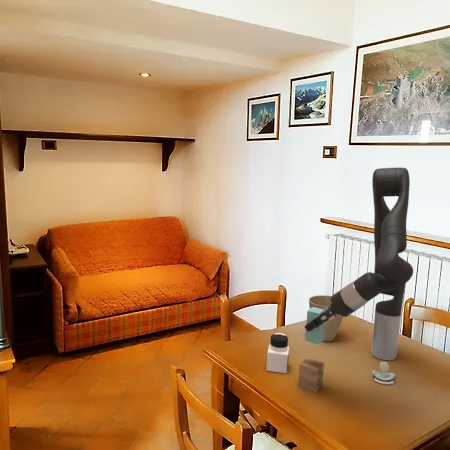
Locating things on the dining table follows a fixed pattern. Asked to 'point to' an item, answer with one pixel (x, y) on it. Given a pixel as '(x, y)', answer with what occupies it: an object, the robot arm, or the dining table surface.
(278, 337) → the medicine bottle
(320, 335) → the pillar
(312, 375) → the tower upper slab
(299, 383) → the tower base slab
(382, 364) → the pacifier
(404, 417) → the dining table surface
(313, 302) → the plant pot
